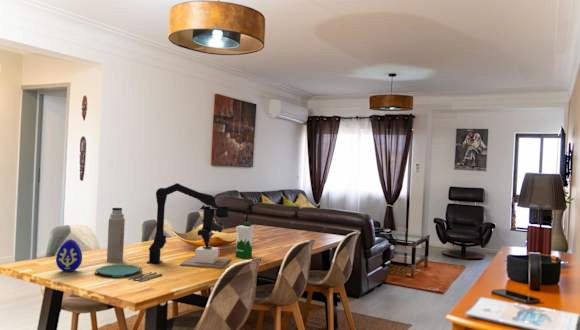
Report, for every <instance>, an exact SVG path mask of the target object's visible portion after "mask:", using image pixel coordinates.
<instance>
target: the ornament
mask: <svg viewBox="0 0 580 330" xmlns="http://www.w3.org/2000/svg"><path fill="white" fill-rule="evenodd" d="M82 260H83V253H82V250H81V248H80V245H79V244H78V243H77V241H76V240H73V239H68V240H66V241H64V242H63V243H62V245H61V246H60V247H59V249H58V251H57V253H56V256H55V264H56V266H57V267H58V269H59V270H60V271H62V272H67V273H70V272H74V271H75V270H77V269H79V267H80V266H81V264H82V262H83V261H82Z"/></svg>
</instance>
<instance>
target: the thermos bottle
mask: <svg viewBox="0 0 580 330" xmlns="http://www.w3.org/2000/svg"><path fill="white" fill-rule="evenodd" d="M111 210H112V211H111V213H110V215H109V218H108V225H107V227H108V228H107V249H106V261H107V262H109V263H120V262H123V261H124V244H125V243H124V241H125V240H124V239H125V221H126V220H125V217H124V213H123V208H122V207H112V208H111Z"/></svg>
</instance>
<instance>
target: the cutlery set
mask: <svg viewBox="0 0 580 330" xmlns="http://www.w3.org/2000/svg"><path fill="white" fill-rule="evenodd" d="M142 269H143V268H142V267H139V266H136V265H128V264H124V263H123V264H111V265H105V266H102V267H99V268H98V267H97V268H95V270H94V274H98V275H101V276H107V277H114V278H123V277H127V276H128V277H129V276H130V277H129V278H128V280H133V281H136V280H137V281H138V282H140V283H143V282H146V281H150V279H155V278H158V277H161V276H163V273H158V274H157V272H156V271H155V272H153V273H152V272H151V271H150V272H146V273H142V272H143V270H142ZM139 273H140V274H139ZM136 274H139V275H136ZM133 275H135V276H133ZM131 276H132V277H131Z"/></svg>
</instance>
